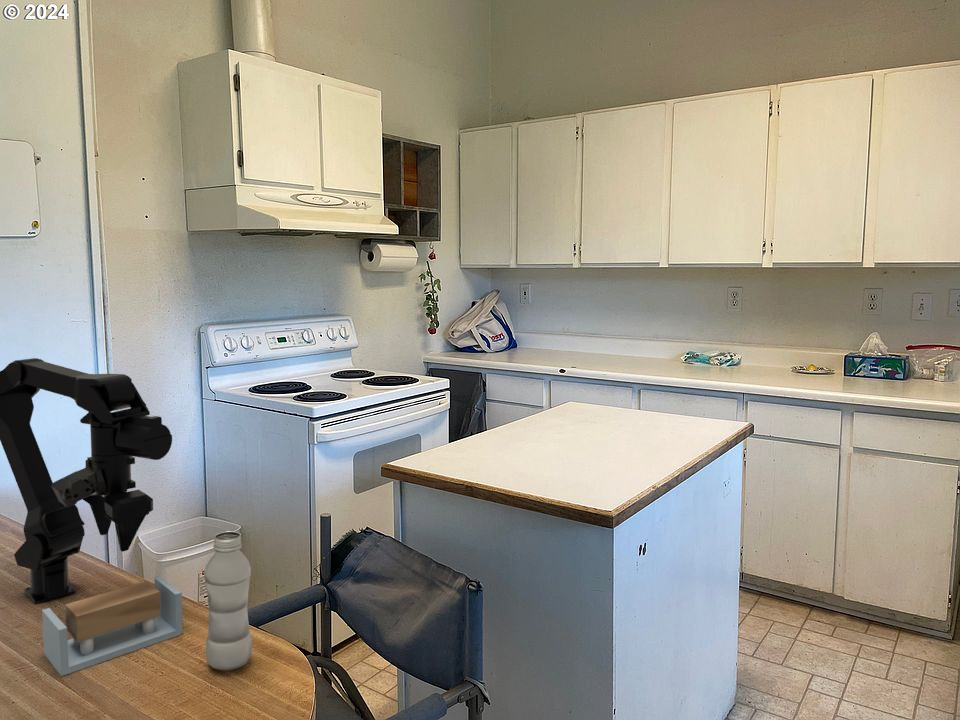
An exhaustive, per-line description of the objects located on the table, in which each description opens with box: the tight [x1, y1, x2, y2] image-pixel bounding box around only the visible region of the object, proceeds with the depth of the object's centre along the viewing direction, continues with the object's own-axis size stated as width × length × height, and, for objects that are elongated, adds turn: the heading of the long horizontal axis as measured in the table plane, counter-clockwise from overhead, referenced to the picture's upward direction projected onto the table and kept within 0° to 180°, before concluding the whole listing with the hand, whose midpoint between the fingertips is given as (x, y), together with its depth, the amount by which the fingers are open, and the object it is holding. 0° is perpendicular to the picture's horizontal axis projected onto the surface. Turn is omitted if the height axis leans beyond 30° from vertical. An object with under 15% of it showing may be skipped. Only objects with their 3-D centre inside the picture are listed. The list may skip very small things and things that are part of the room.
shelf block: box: [64, 580, 161, 642], centre depth 111 cm, size 5×12×4 cm, turn 136°
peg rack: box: [41, 575, 184, 677], centre depth 111 cm, size 8×18×7 cm, turn 136°
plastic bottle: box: [203, 530, 253, 672], centre depth 106 cm, size 6×7×20 cm
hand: (113, 542), depth 120 cm, fingers open, 9 cm apart
